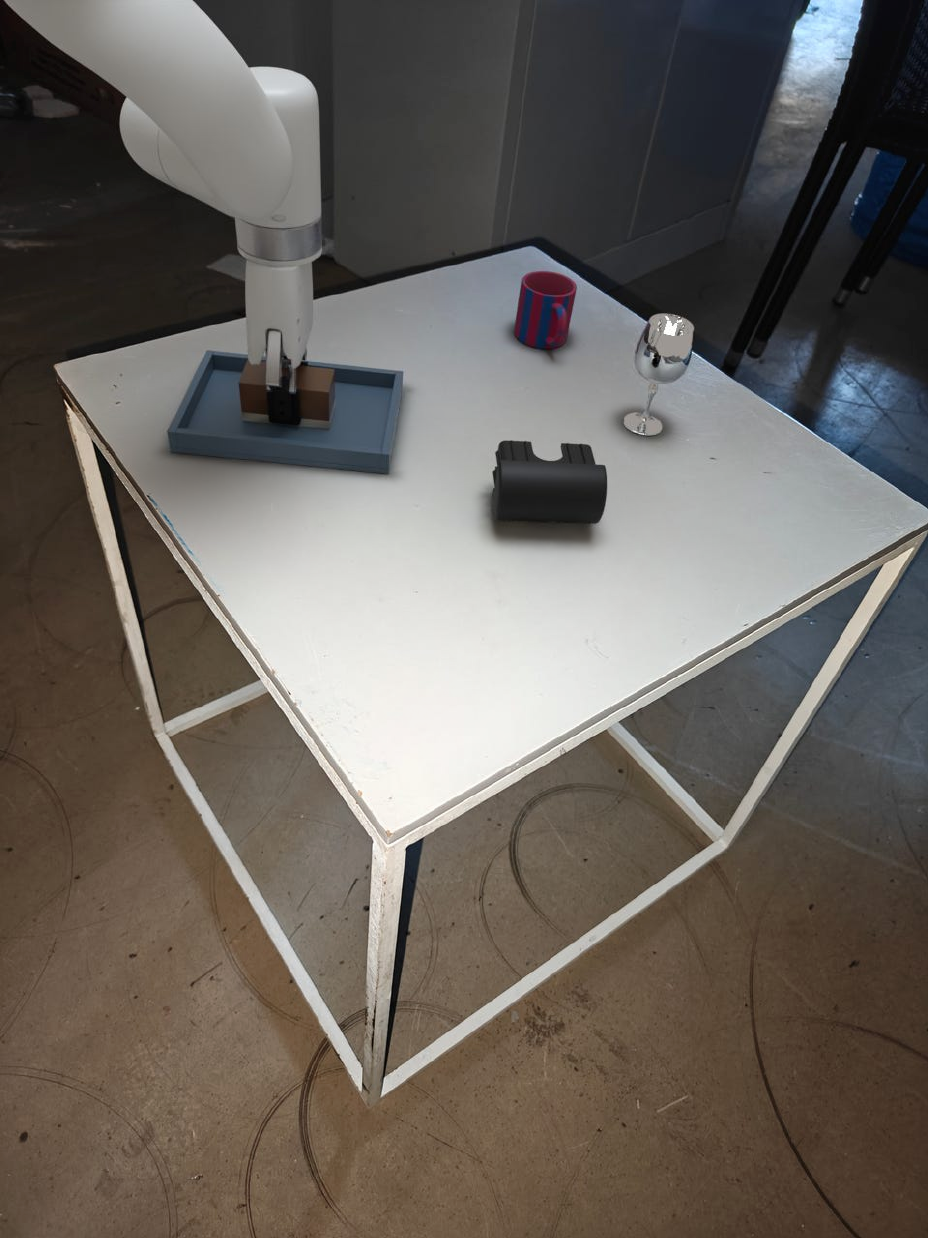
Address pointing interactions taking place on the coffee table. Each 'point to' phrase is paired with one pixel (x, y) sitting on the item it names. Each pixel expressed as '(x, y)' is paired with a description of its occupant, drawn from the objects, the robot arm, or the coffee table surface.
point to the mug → (544, 309)
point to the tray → (348, 444)
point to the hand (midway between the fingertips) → (289, 407)
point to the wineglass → (660, 363)
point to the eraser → (310, 381)
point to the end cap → (548, 485)
